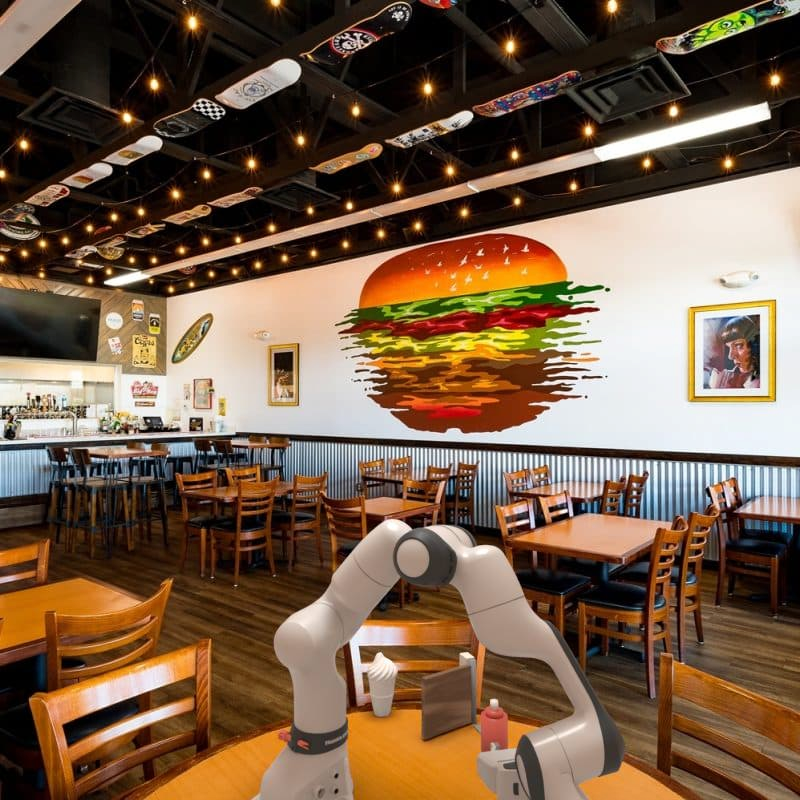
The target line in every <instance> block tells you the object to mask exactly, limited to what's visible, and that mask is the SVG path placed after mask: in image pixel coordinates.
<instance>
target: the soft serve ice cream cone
mask: <svg viewBox="0 0 800 800" xmlns="http://www.w3.org/2000/svg"><path fill="white" fill-rule="evenodd" d="M398 672H399V671H398V667H397V666H396V664H394V662H393V661H392V660H391V659H389V658H387V657H386V656H384V654H383V652H377V653H376V655H375V657H374V660H373V661H372V662H371V664H370V665H368V667H367V670H366V673H367V678H368V683H369V696H370V698H371V705H372V709H373V714H374V715H375V716H376V717H379V718H385V717H388V716H390V714H391V710H392V709H391V708H392V703H393V700H394V695H395V683H396V677H397V676H398Z"/></svg>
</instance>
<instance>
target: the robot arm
mask: <svg viewBox="0 0 800 800" xmlns="http://www.w3.org/2000/svg"><path fill="white" fill-rule="evenodd" d="M400 579H402V580H403V581H405V582H407V583H409V584H411V585H415V586H418V587H447V586H448V585H451V586H453V587H454V588H456V590H458V592H459V593H460V595H461V598H462V600H463V604H464V605H465V606H464V607H465V610H466V613H467V615H468V618H469V619H468V620H469V621H470V622H469V623H470V624H471V628H472V629H473V632H474V633H475V637H476V638H477V640H478V642H479V643H480V644H481V645H482V646H483V648H485V649H487V650H488V651H490V652H492V653H494V654H497V655H500V656H506V657H516V658H533V659H537V660H540V661H543V662H544V663H546V664H547V665H548V666H549V667H551V670H553V672H554V674H555V675H556V678H557V679H558V681H559V683H560V684H561V686H562V688H563V689H564V692H565V693H566V695H567V697H568V699H569V700H570V703H571V704H572V707H573V709H574V710H573V711H574V712H573V714H572V715H571V716H568V717H565V718H562V719H561V720H558V721H555V722H553V723H550V724H548V725H544V726H543V725H542V726H540V727H539V728H536V729H533V730H531V731H529V732H526V733H525V734H522V735H521V736H520V738H519V741H518V742H517V747H515V748H508V749H505V750H500V745H499V744H498V742H495V743H490V749H491V751H488V752H481V751H480V752H479V753H478V755H477V757H476V770H477V773H478V776H479V778H480V779H481V781H482V783H483V784H484V785H485V786H486V787H487V789H488V790H489V791H490V792H492V793H493V794H495V795H496V797H497V800H590V798H589V796H588V795H587V794H586V793H585V791H584V790H583V789H582V787H581V786H580V785H581V784H583V783H585V782H588V781H590V780H591V781H592V779H596V778H600V777H604V776H607V775H608V776H609V775H611V774H614V773H617V772H619V771H620V769H621V766H622V764H623V761H624V759H625V754H626V749H627V748H626V743H625V740H624V737H623V735H622V732H621V731H620V729H619V728H618V726H617V723H616V722H614V719H613V718H612V717H611V715H610V713H609V712H608V711H607V709H606V708H605V707H604V704H603V703H602V702H601V701H600V698H599V696H598V695H597V693H596V692H595V690H594V688H593V686H592V685H591V683H590V681H589V679H588V678H587V676H586V674H585V672H584V670H583V669H582V667H581V665H580V663H579V662H578V660H577V658H576V657H575V655H574V653H573V651H572V650H571V648H570V647H569V645H568V643H567V642H566V640H565V638H564V637H563V636H562V633H561V632H560V631H559V630H558V629H557V627H556V626H555V625H554V624H553V623H552V622H551V621H550V620H545V619H542V618H540V617H539V616H538V615H537V613H535V612H534V611H533V609H532V607H531V606H530V605H529V602H528V600H527V598H526V596H525V593H524V591H523V589H522V586H521V584H520V581H519V580H518V576H517V575H516V573H515V571H514V569H513V568H512V565H511V564H510V562H509V560H508V558H507V557H506V555H505V554H504V551H502V550H501V549H500V548H499V547H497V546H495V545H490V544H489V545H488V544H483V545H478V544H477V541H476V539H475V537H474V536H473V534H471V532H470V531H468V530H467V529H465V528H464V527H461V526H459V525H456V524H433V525H429V526H425V527H417V528H413V529H412V527H411V526H409V525H408V524H407V523H405V522H404V521H402V520H399V519H397V518H396V519H395V518H391V519H390V518H389V519H386V520H384V521H382V522H381V523H379V524H378V525H377V526H376V527H374V529H372V530H371V531H370V532H369V533H367V535H366V536H365V537H364V538H363V539H361V541H360V542H359V543H358V544H357V545H356V546H355V548H354V549H353V550H352V551H351V553H349V555H348V556H347V557H346V558H345V559H344V561H343V562H342V563H341V564H340V565H339V567H338V568H337V569H336V570H335V571H334V573H333V574H332V577H331V581H330V584H329V586H328V587H327V589H326V591H324V593H323V594H322V596H320V597H319V598H318V599H316V601H314V602H313V603H311V604H309V605H308V606H306V607H304V608H301V609H300V610H298V611H296V612H294V613H292V614H291V615H290V616H289V617H288V618H286V619H285V620H284V622H283V623H282V624H281V625H279V627H278V629H277V630H276V632H275V634H274V638H273V648H274V651H275V652H274V653H275V655H276V658H277V659H278V660H279V662H280V663H281V664H282V665H283V666H285V667H286V668H287V669H288V671H289V674H290V676H291V680H292V687H293V707H294V708H293V715H294V717H293V720H292V722H291V723H292V724H291V726H290V729H289V731H287V730H286V729H285V728H282V729H280V730H279V732H278V734H277V739H278V740H280V741H282V742H283V743H286V744H285V746H284V747H283V749H282V750H281V751H280V753H279V754H278V755H277V756H276V758H275V759H274V760H273V761H272V763H271V764H270V766H269V767H268V768H267V769H266V771H265V772H264V773H263V775H262V778H261V783H260V789H259V793H258V794H256V795H255V796H254V797H253V798H251V799H250V800H355V799H354V794H353V791H354V781H353V778H352V775H351V770H350V769H351V768H350V763H349V762H350V759H349V753H348V746H347V745H348V743H347V740H348V738H349V731H350V730H349V718H348V717H347V683H346V680H345V678H344V677H343V676H342V675H341V674H339V672H338V669H337V665H336V664H337V663H336V654H337V651H338V650H339V649H341V648H342V647H343V646H345V645H347V644H348V643H350V641H351V640H352V639H353V638H354V636H355V635H356V634H357V633H358V632H359V630H360V629H361V627H362V626H363V625H364V623H365V621H366V620H367V619H368V617H369V615H370V614H371V612H372V611H373V609H375V608H376V606H377V605H378V604H379V603H380V602H381V601H382V599H383V598H384V597H385V596H386V595H387V594H388V592H389V591H390V590H391V589H392V588H393V587H394V585H395V584H396V583H397V582H398V581H399V580H400Z"/></svg>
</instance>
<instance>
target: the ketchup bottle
mask: <svg viewBox="0 0 800 800" xmlns="http://www.w3.org/2000/svg"><path fill="white" fill-rule="evenodd" d="M489 701H490V702H489V705H488V706H486V707H485V708H484V709H485V710H483V711H481V712H480V724H481V734H480V753H481V752H488V751H491V749H490V743H495V742H498V744H499V745H500V750H505V749H509V721H508V720H509V718H508V717H509V716H508V714H507V712H505V711H504V709H503V707H500V706H499V700H498V699H496V698H491V699H490V700H489Z"/></svg>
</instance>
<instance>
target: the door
mask: <svg viewBox="0 0 800 800" xmlns="http://www.w3.org/2000/svg"><path fill="white" fill-rule="evenodd" d="M420 704H421V738H422V739H424V740H427V739H430V738H433V737H435V736H438V735H441V734H444V733H446V732H449V731H452V730H455V729H457V728H460V727H463V726H466V725H468V724H471V665H469V664H465V665H462V666H460V665H459V666H455V667H452V668H448V669H445V670H441V671H439V672H436V673H432V674H429V675H424V676H422V677H421V702H420Z"/></svg>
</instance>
